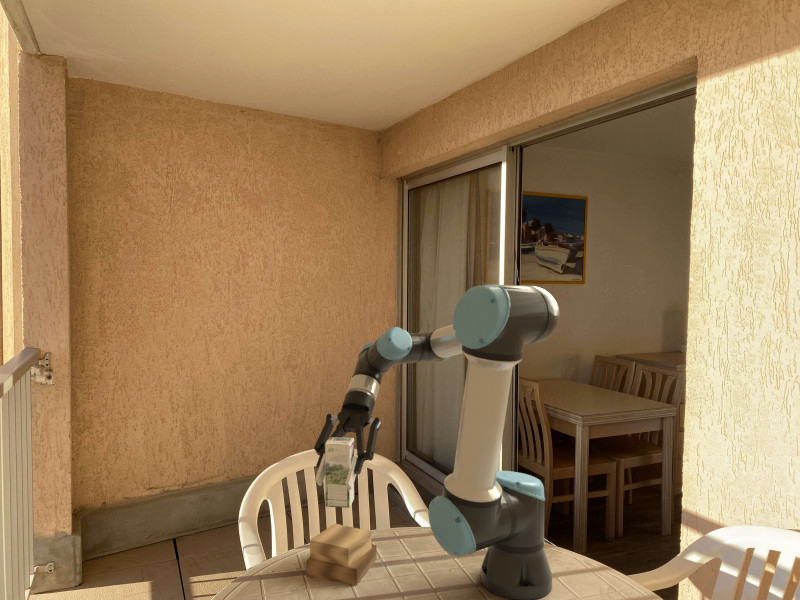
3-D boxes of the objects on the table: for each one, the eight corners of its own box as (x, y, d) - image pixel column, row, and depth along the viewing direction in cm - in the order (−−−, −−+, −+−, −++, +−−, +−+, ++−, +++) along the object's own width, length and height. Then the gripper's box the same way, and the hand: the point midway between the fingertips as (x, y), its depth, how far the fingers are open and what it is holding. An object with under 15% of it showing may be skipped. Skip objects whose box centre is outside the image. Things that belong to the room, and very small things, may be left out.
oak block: (371, 548, 130) (371, 531, 130) (348, 567, 121) (348, 548, 121) (334, 540, 135) (334, 523, 135) (310, 557, 126) (310, 539, 126)
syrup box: (354, 499, 131) (354, 436, 131) (349, 508, 125) (350, 443, 125) (330, 498, 131) (330, 435, 131) (324, 507, 126) (324, 442, 125)
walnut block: (376, 562, 132) (376, 545, 132) (356, 587, 121) (356, 568, 121) (329, 554, 136) (329, 538, 136) (306, 578, 125) (306, 560, 125)
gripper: (401, 409, 140) (379, 497, 124) (329, 403, 146) (299, 487, 130) (395, 391, 134) (370, 481, 119) (320, 386, 140) (287, 471, 125)
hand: (333, 484), depth 125 cm, fingers closed on syrup box, 7 cm apart
